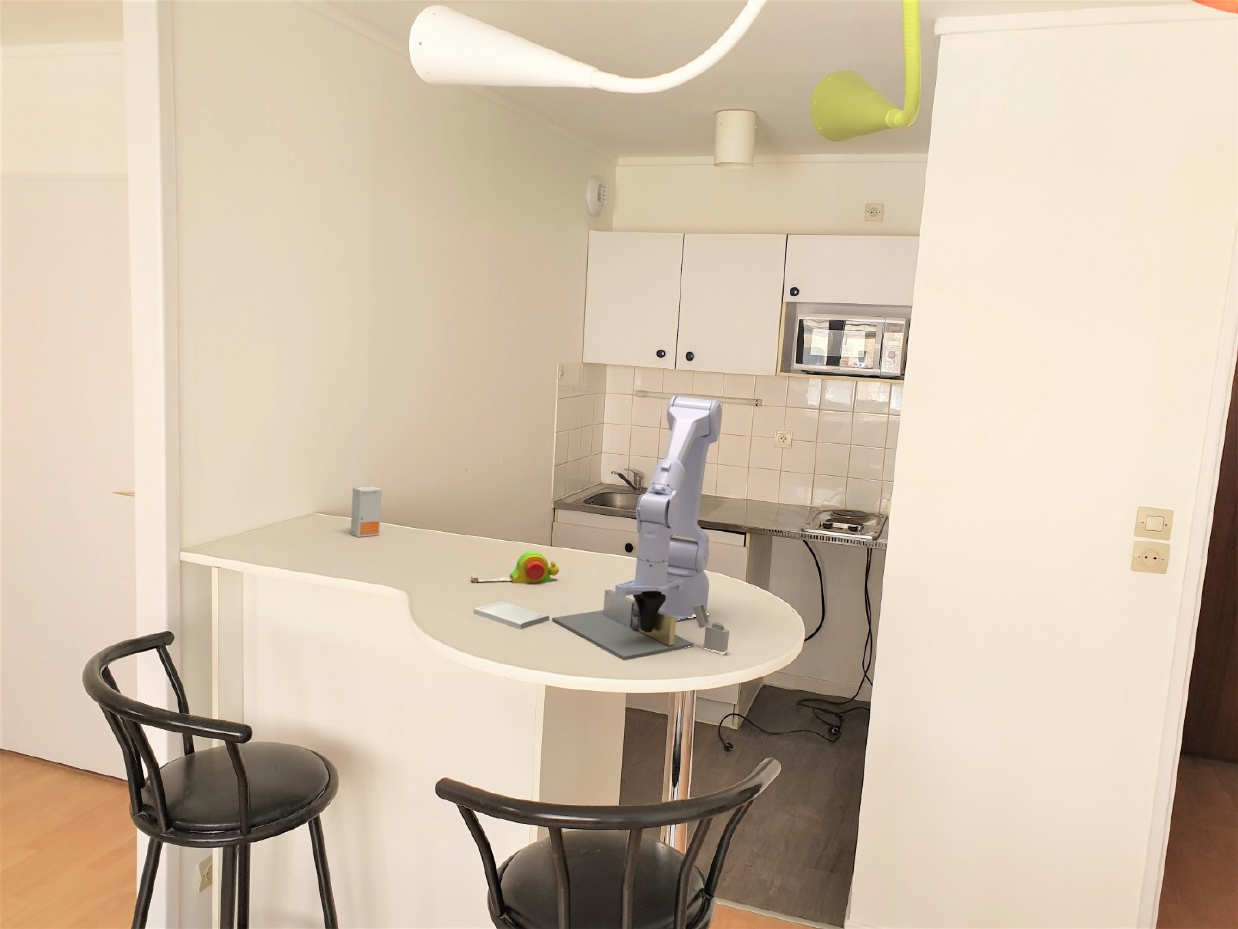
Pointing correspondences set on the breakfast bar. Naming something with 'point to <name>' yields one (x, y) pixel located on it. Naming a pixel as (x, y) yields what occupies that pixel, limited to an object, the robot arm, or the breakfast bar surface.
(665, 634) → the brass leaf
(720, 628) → the lighter
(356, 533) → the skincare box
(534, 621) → the hard drive
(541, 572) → the toy measuring tape
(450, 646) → the breakfast bar surface
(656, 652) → the hinge base
